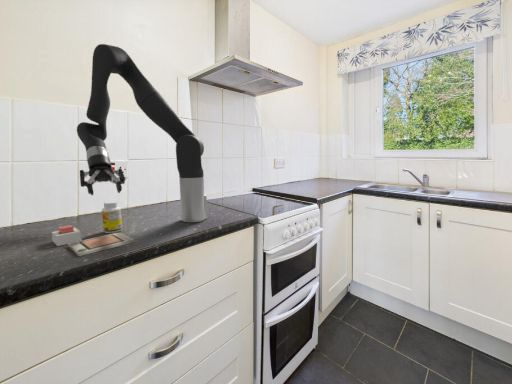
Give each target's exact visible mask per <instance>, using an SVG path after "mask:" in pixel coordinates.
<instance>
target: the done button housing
mask: <svg viewBox="0 0 512 384" xmlns="http://www.w3.org/2000/svg"><path fill="white" fill-rule="evenodd" d="M73 231H74V232H70V233H65V234H59V230H56V231H51V238H52V242H53V244H55V245H56V246H57V247H60V246H64V245H68V243H73V242H78V241H82V240H83V238H82V231H81V230H79V229H78V228H76V227H73Z"/></svg>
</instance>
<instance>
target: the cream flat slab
mask: <svg viewBox="0 0 512 384" xmlns="http://www.w3.org/2000/svg"><path fill="white" fill-rule="evenodd" d="M132 243H135V239H134V238H132V237H130V236H128V235H127V234H126V235H125V234H124V233H121V231H120V232H117V233H108V234H106V235H101V236H95V237H92V238H88V239H82V241H78V242H73V243H68V244H67V247H68V248H69V249H70V250H71V251H73V252H74V253H75V255H77V256H78V257H82V256H85V255H90V254H92V253H94V254H95V253H97V252H101V251H105V250H108V249H113V248H116V247H122V246H125V245H128V244H132Z"/></svg>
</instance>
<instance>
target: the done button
mask: <svg viewBox="0 0 512 384" xmlns="http://www.w3.org/2000/svg"><path fill="white" fill-rule="evenodd" d="M57 228H58V231H59V234H65V233H70V232H74V231H73V228H74V226H73V225H71V224H69V225H63V226H58V227H57Z"/></svg>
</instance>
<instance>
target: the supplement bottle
mask: <svg viewBox="0 0 512 384" xmlns="http://www.w3.org/2000/svg"><path fill="white" fill-rule="evenodd" d="M118 205H119V204H118V201H116V200H115V201H114V200H112V201H105V202H104V203H103V207H104V208H102V210H101V214H102V215H101V216H102V224H103V225H102V226H103V232H104V234H114V233H119V232H120V233H121V232H122V230H123V221H122V220H123V219H122V218H123V217H122V209H121V207H120V206H118Z"/></svg>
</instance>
